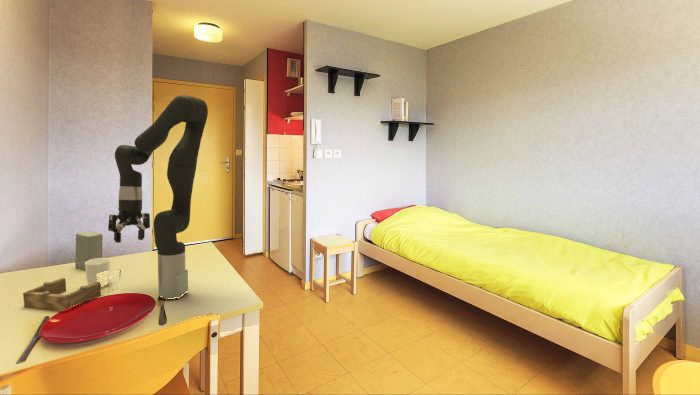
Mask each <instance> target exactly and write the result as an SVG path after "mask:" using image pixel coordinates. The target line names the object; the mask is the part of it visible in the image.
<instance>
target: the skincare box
mask: <svg viewBox="0 0 700 395" xmlns="http://www.w3.org/2000/svg"><path fill="white" fill-rule="evenodd" d="M103 235H104V234H102V233H99V232H96V231H95V232H94V231H86V232H85V231H84V232H79V233H76V234H75V260H74V261H75V262H74V263H75V266H74V267H75V269H78V270H79V269H80V270H83V271H86V270H85V262H86V261H88V260H91V259H96V258H103Z"/></svg>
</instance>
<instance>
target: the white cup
mask: <svg viewBox="0 0 700 395" xmlns="http://www.w3.org/2000/svg"><path fill="white" fill-rule="evenodd" d="M108 270H109V271H110V258H108V257H102V258H96V259H91V260H88V261H86V262H85V270H84V271H85V278H86V281H87V286H88V285H90V284H93V283H95V282H96V274H97V273H100V272H104V271H108Z"/></svg>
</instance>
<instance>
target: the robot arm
mask: <svg viewBox="0 0 700 395" xmlns="http://www.w3.org/2000/svg"><path fill="white" fill-rule="evenodd" d="M208 108H209V107H208V105H207V103H206V101H205V100H203V99H202V98H199V97H195V96H191V95H187V94H178V95H177V96H175V97H174V98H173V99H172V100H171V101H170V103H169V104H168V105H167V106H166V107H165V108H164V110H163V111H162V112H161V113H160V114H159V116H158V117H157V118H156V120H155V121H154V122H153V123H152V124H151V125H149V127H148V128H147V129H145V130H144V131H142V133H140V134H139V135H138V136H137V137H136V138H135V140H134V145H128V144H120V145H119V146H117V147H116V148H115V151H114V160H115V163H116V167H117V170H118V173H119V189H118V214H111V213H110V214H109V216H108V224H107V226H108V228H107V229H108V232H113V240H114V242H115V243H118V244H119V243H121V242H122V230H123V229H125V228H126V226H127V227H128V226H135V227H137V229H138V230H137V240H139V241H144V239H145V230H147V229H150V228H151V224H150V223H151V222H150V221H151V220H150V219H151V218H150V213H147V212H143V213H142V210H143V187H142V186H143V175H142V172H140V171H137V170H135V169H134V168H133V166H142V165H143V164H146V162H148V161H149V159H150V158H151V156H152V154H153V152H155V150H157V149H159V148H160V147H161V146H162V145H163V144H164V143H166V141H167V139H168V136H169V133H170V131H171V129H173V128H175V126H177V125H179V124H180V123H185V127H184V131H183V134H182V136H181V139H180V140H179V141H178V143H177V144H176V145H175V147H174V148H173V149H172V151H171V153H170V154H169V158H168V162H167V168H166V169H167V170H166V176H167V180H168V183H169V185H170V188H171V192H172V203H171V209H168V210H164V211H160V212H158V213H157V214H156V215H155V217H154V219H153V235H154V236H153V238H154V245H155V248H156V249H157V274H158V275H157V277H158V278H157V279H158V280H157V282H158V283H157V284H158V286H157V288H158V297H159V296H165V297H166V298H167V299H168V298H174V297H180V296H181V295H182V294H184V293H185V292H186V291H188V292H189V270H188V269H186V245H185V243H184V242H182V241H178V240H177V234H180V233H182V232H184V231H187V229H188V228H189V225H190V220H191V205H192V202H191V201H192V195H193V189H194V181H195V177H196V172H197V171H196V170H197V165H198V164H197V163H198V158H199V151H200V146H201V142H202V138H203V134H204V132H205V131H204V130H205V126H206V123H207V119H208V115H209V114H208V113H209V109H208ZM132 165H133V166H132ZM141 219H142V220H141ZM118 220H119V221H118ZM117 221H118V222H117Z"/></svg>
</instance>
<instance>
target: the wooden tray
mask: <svg viewBox="0 0 700 395" xmlns="http://www.w3.org/2000/svg"><path fill="white" fill-rule="evenodd" d="M101 290H102V287H101V284H100V282H95V283H93V284H90V285H88V284H87V285H81V286H79V289H77V290H75V291H72V292H70V293H68V294H62V293H65V292H67V282H66V278H65V277H63V278H62V277H61V278H59V279H56V280H53V281H45V282H43V284H42V285H40V286H37V287H35V288H32V289H30V290H26V291H24V292H23V293H22V295H23V307H24V308H31V309H41V310H49V311H58V312H63V311H62V310H65V309H67V308H69V307H71V306H73V305H76V304H79V303H82V302H85V301H87V300H89V301H91V300H93V299H96V298H97V297H99V296H101V295H102V291H101ZM100 294H101V295H100ZM90 299H91V300H90ZM87 302H88V301H87ZM85 303H86V302H85Z"/></svg>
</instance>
